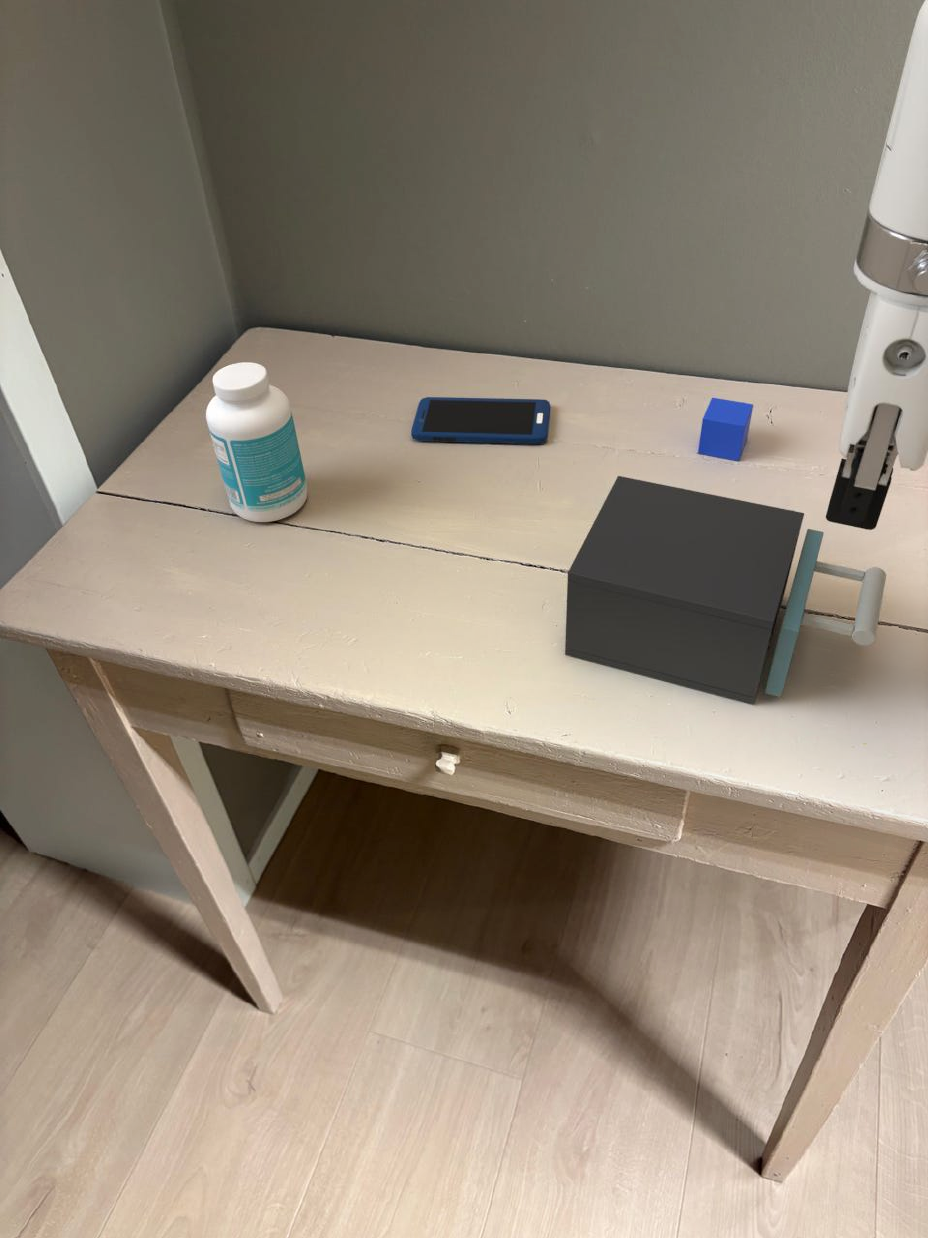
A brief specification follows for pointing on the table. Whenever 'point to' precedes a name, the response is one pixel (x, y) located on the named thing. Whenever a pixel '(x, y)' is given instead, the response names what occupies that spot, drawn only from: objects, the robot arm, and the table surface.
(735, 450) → the blue block
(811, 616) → the drawer
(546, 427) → the cell phone
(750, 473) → the table surface
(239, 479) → the pill bottle
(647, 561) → the dark grey drawer cabinet
